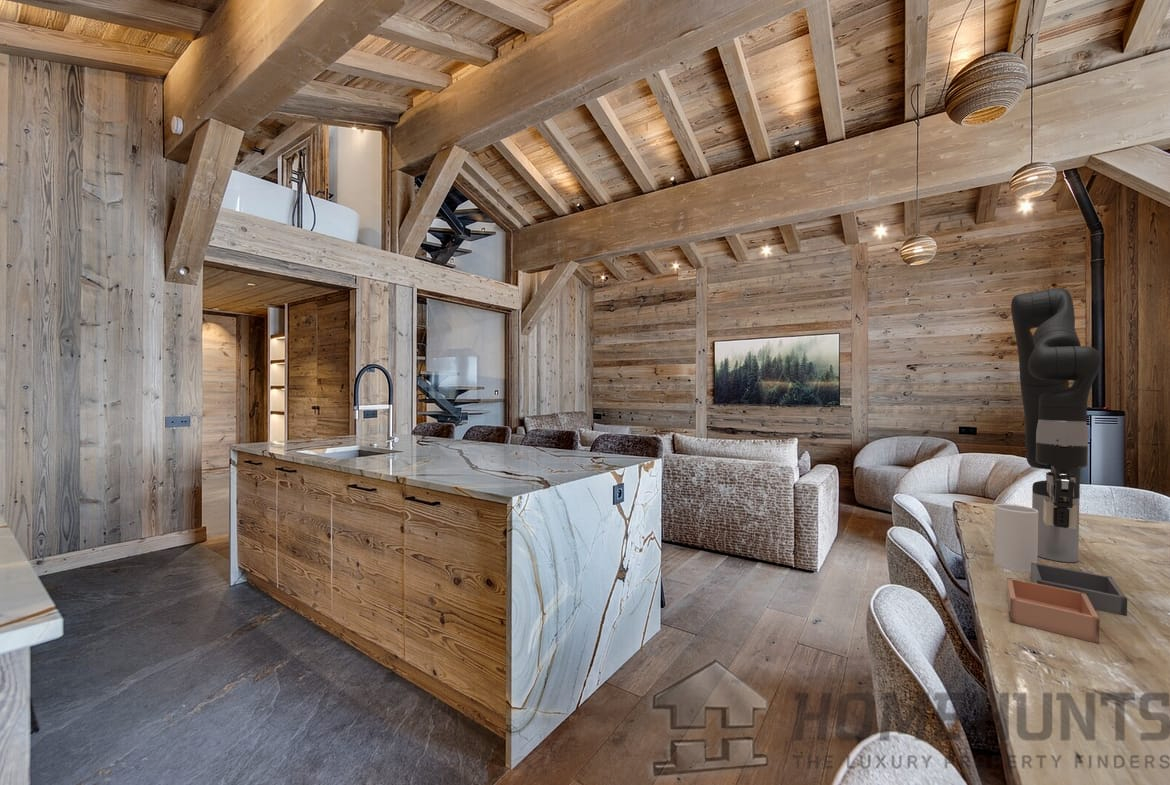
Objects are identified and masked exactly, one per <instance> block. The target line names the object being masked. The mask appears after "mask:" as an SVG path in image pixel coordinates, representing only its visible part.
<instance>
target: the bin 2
mask: <svg viewBox="0 0 1170 785" xmlns="http://www.w3.org/2000/svg"><path fill="white" fill-rule="evenodd" d="M1030 578H1031V582H1032V583H1037V584H1042V585H1047V586H1052V587H1057V588H1062V589H1067V590H1072V591H1077V592H1082V593H1086V595H1087V597H1088V599H1089V600H1090V602H1091V604H1092V606H1093V608H1094V610H1095V611H1096V610H1097V611H1101V612H1106V613H1111V614H1114V615H1115V614H1116V615H1120V616H1125V617H1128V597H1127V596H1126V595H1125V592H1123V591H1122V589H1121V588H1120V587H1119V586H1120V585H1118V584H1117V582H1116V581H1115V579H1113V577H1112V576H1108V575H1103V574H1096V573H1091V572H1085V571H1080V570H1074V569H1069V568H1064V567H1058V566H1053V565H1046V564H1041V563H1038V562H1037V563H1031V572H1030Z"/></svg>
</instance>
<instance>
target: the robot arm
mask: <svg viewBox="0 0 1170 785" xmlns="http://www.w3.org/2000/svg"><path fill="white" fill-rule="evenodd" d="M1010 310H1011V312H1010V313H1011V318H1012V323H1013V329H1014V335H1015V336H1014V337H1015V340H1016V345H1017V346H1016V347H1017V352H1018V365H1019V381H1020V382H1019V384H1020V393H1021V398H1022V403H1023V404H1022V405H1023V412H1024V413H1023V414H1024V427H1025V428H1024V430H1025V433H1024V436H1025V437H1024V439H1025V440H1024V441H1025V442H1024V443H1025V444H1024V445H1025V458H1026V461H1027V464H1028V466H1030V467H1031V468H1035V469H1039V470H1040V469H1041V470H1047V471H1048V472H1045V479H1046V480H1039V481H1038V480H1037V481H1036V482H1033V484H1032V487H1031V489H1032V492H1031V493H1032V494H1031V495H1032V498H1031V499H1032V500H1031V502H1032V504H1031V506H1032V507H1031V508H1033V509H1036V510H1038V557H1039V558H1043V559H1047V560H1050V561H1055V562H1063V563H1076V562H1077V563H1078V562H1079V548H1080V546H1079V544H1080V542H1079V541H1080V495H1081V492H1080V491H1081V488H1080V487H1081V468H1085V467H1087V466H1088V452H1089V450H1088V449H1089V447H1088V446H1089V445H1088V444H1089V431H1088V424H1087V419H1088V418H1087V414H1088V412H1087V411H1088V409H1087V408H1088V400H1089V395H1090V393H1091V392H1090V391H1091V388H1092V385H1093V383H1094V381H1095V379H1096V377H1097V375H1098V372H1099V371H1100V367H1101V365H1102V356H1101V354H1100V352H1099V351H1098V349H1096V348H1095V347H1092V346H1089V345H1088V346H1087V345H1081V341H1080V338H1079V336H1078V334H1077V331H1076V329H1075V326H1076V318H1075V317H1076V315H1075V307H1074V302H1073V298H1072V295H1071V293H1070V291H1068V290H1067V289H1065V288H1063V287H1062V288H1061V287H1055V288H1049V289H1043V290H1036V291H1035V290H1034V291H1031V292H1025V293H1020V294H1016V295H1014V296H1013V297H1012V299H1011V304H1010ZM1035 328H1036V329H1035ZM1031 329H1035V331H1034V334H1033V333H1032V331H1031ZM1070 381H1073V383H1072V385H1071V386H1070V383H1069V382H1070ZM1049 470H1050V471H1049ZM1044 498H1046V499H1053V503H1052V506H1053V524H1054V526H1051V525H1046V524H1045V523H1044V521H1043V510H1044ZM1059 500H1063V501H1059ZM1073 502H1074V503H1075V504H1076V505H1077V524H1076V529H1072V528H1068V527H1069V510H1071V508H1072V507H1073V504H1072V503H1073Z"/></svg>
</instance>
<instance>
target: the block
mask: <svg viewBox="0 0 1170 785" xmlns="http://www.w3.org/2000/svg"><path fill="white" fill-rule="evenodd" d="M1059 501H1063V500H1059ZM1052 503H1053V499H1046V498H1044V510H1043V521H1044V523H1045V524H1046V525H1051V526H1054V524H1053V506H1052ZM1072 504H1073V507H1072V508H1071V510H1069V527H1068V528H1072V529H1076V524H1077V505H1076V504H1075V503H1074V502H1073V503H1072Z"/></svg>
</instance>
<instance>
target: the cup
mask: <svg viewBox="0 0 1170 785" xmlns="http://www.w3.org/2000/svg"><path fill="white" fill-rule="evenodd" d="M993 519H994V524H993V525H994V526H993V530H994V531H993V563H994V565H996V566H998V567H1001V568H1003V569H1006V570H1011V571H1015V572H1022V573H1031V563H1037V564H1038V557H1039V556H1038V510H1036V509H1033V508H1032V507H1029V506H1025V505H1020V504H1019V505H1018V504H1012V503H1011V504H1010V503H1009V504H1008V503H996V504H994V518H993Z"/></svg>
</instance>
